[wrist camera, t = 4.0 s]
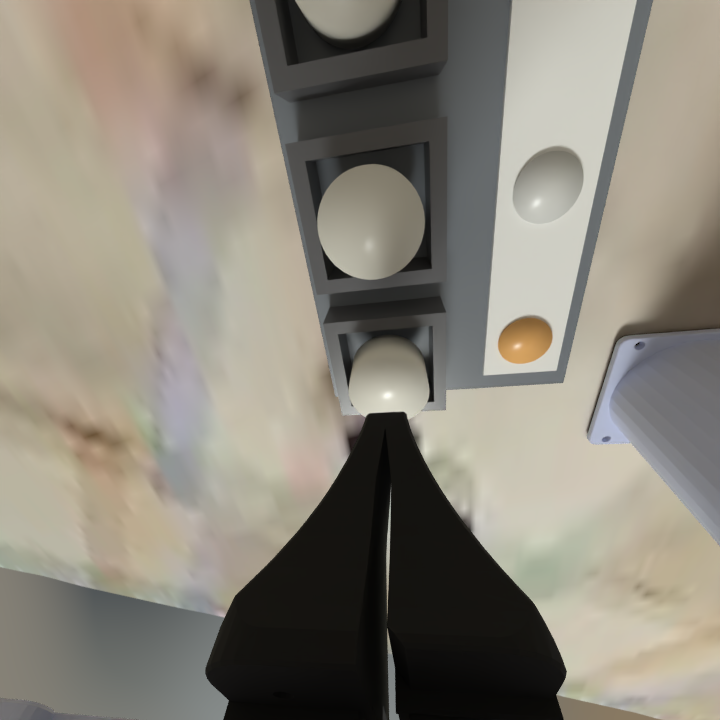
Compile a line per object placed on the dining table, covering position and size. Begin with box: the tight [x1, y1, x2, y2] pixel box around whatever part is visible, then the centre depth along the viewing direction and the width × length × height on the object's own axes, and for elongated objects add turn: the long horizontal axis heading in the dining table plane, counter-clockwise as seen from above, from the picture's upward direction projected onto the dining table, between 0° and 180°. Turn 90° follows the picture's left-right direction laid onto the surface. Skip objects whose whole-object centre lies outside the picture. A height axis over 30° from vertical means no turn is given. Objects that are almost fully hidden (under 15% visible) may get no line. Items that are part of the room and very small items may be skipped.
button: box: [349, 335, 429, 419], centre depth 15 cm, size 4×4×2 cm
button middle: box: [317, 164, 425, 280], centre depth 12 cm, size 4×4×2 cm
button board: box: [250, 0, 653, 415], centre depth 13 cm, size 13×20×4 cm, turn 8°
